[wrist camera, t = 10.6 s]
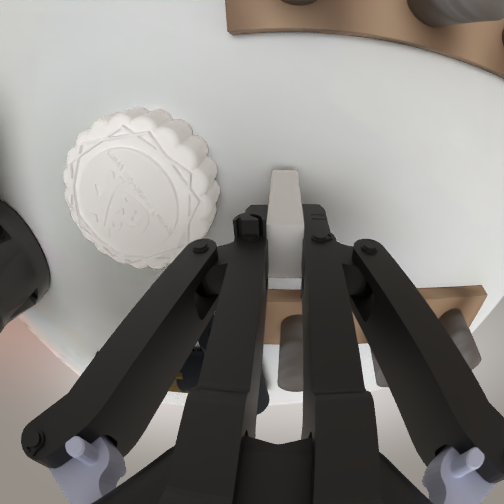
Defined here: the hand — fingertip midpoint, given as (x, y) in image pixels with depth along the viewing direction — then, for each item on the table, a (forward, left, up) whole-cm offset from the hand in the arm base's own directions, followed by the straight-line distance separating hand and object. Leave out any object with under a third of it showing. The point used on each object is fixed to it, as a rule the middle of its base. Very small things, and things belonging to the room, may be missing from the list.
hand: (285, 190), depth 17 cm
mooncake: (-10, 0, -3) cm, 11 cm away
